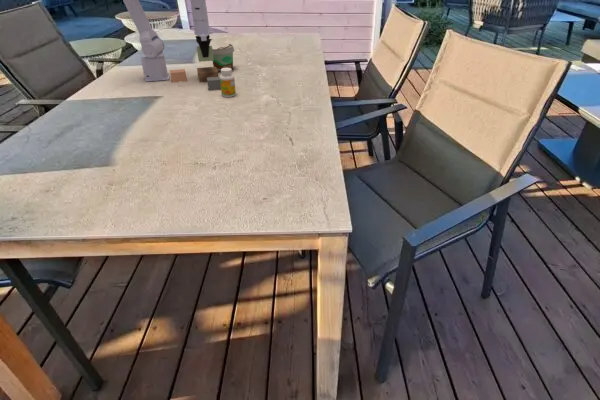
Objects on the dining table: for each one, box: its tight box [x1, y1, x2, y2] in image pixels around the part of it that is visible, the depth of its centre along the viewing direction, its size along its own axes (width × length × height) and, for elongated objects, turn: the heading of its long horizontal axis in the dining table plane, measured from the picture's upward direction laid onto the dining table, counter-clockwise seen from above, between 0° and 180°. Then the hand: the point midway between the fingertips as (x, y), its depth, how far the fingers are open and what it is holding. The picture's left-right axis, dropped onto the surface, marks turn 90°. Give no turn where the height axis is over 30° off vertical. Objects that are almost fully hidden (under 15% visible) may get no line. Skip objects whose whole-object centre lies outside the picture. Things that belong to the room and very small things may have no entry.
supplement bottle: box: [219, 68, 237, 98], centre depth 142 cm, size 5×5×10 cm
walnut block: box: [196, 66, 220, 83], centre depth 160 cm, size 8×8×4 cm
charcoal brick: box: [206, 76, 221, 91], centre depth 150 cm, size 6×4×4 cm, turn 103°
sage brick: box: [196, 45, 214, 63], centre depth 155 cm, size 6×4×5 cm, turn 106°
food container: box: [212, 43, 235, 73], centre depth 168 cm, size 12×6×10 cm, turn 143°
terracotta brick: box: [169, 68, 188, 83], centre depth 158 cm, size 6×4×4 cm, turn 110°
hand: (205, 55), depth 155 cm, fingers closed on sage brick, 4 cm apart
